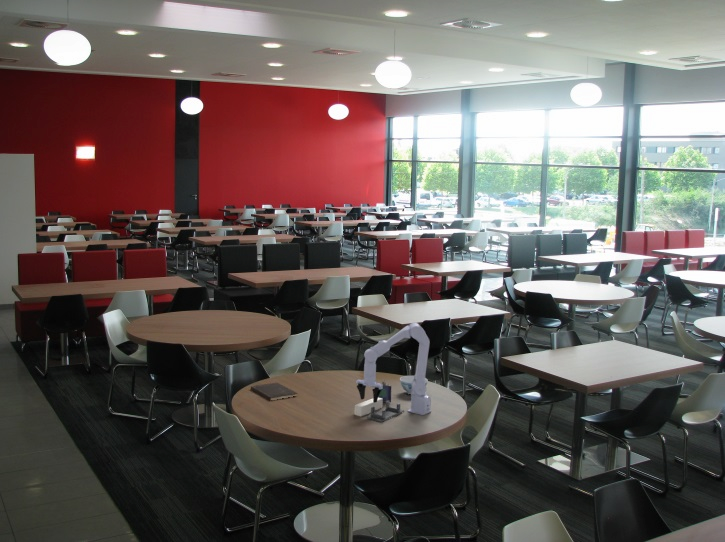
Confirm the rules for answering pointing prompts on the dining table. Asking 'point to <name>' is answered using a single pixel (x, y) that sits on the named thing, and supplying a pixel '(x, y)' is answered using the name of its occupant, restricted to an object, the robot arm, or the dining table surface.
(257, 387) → the hardcover book
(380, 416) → the cup brackets
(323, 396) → the dining table surface
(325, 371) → the dining table surface
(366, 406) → the rail
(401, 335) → the robot arm
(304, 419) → the dining table surface
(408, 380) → the chinaware
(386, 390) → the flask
